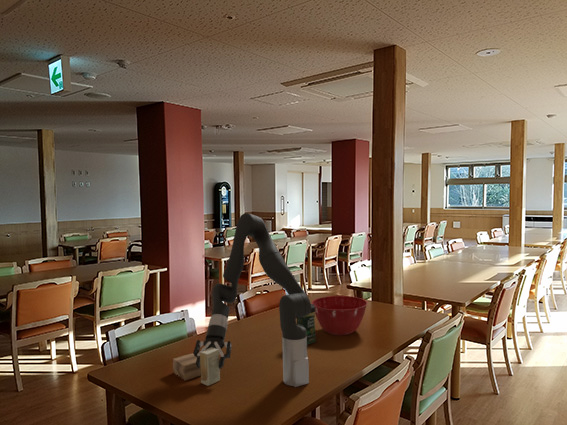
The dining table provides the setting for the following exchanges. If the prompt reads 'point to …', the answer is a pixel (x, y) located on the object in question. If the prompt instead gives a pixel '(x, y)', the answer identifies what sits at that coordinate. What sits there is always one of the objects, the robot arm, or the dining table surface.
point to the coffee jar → (309, 325)
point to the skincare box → (209, 366)
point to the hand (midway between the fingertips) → (209, 367)
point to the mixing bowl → (339, 313)
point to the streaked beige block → (186, 367)
